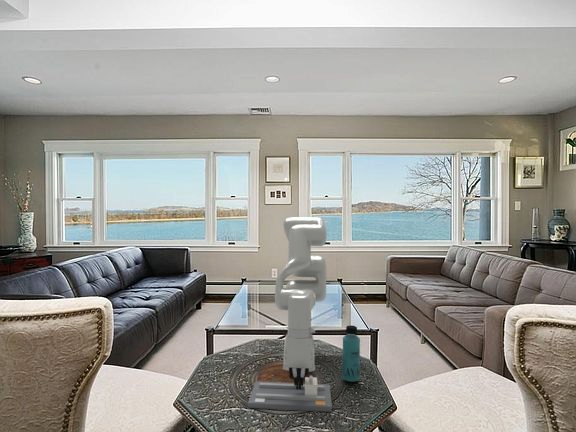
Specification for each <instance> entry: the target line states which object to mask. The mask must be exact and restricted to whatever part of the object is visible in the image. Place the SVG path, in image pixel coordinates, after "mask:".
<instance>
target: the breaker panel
mask: <svg viewBox="0 0 576 432" xmlns="http://www.w3.org/2000/svg"><path fill="white" fill-rule="evenodd" d="M330 385H331V384H326V383H323V384H322V383H317V396H308V395H305V382H303V386H301V390H299V388H298V390H296V386H294V382H281V381H280V382H279V381H278V382H277V381H275V382H274V381H255V382H254V384H253V388H252V390H251V393H250V396H249V399H248V401H247V408H248V409H269V410H270V409H271V410H287V411H288V410H289V411H291V410H292V411H306V412H307V411H312V412H331V413H332V412H333V403H332V402H333V401H332V396H331V395H332V394H331V386H330Z"/></svg>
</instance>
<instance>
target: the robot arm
mask: <svg viewBox="0 0 576 432" xmlns="http://www.w3.org/2000/svg"><path fill="white" fill-rule="evenodd" d="M283 230H284V234H285V236H286V238H287V241H288V259H287V260H288V261H287V263H285V265H283V267H282V268H281V269H280V270H279V272H278V274H277V276H276V280H275V291H274V304H275V307H276V308H277V310H280V311H287V333H286V335H285V338H284V345H283V359H282V360H283V364H282V369H283V370H285V371H287V372H289V371H290V372H291V373H292V374H293V376H294V377H293V378H294V379H293V383H294V386H296V390H298V388H299V390H301V386H303V383H304V378H305V377H306V375H307V374H308V373H309V372H315V371H316V366H315V358H316V357H315V341H314V335H313V334H316V328H312V327H311V326H312V312H311V311H312V310H313V309H314V306H316V303H321V302H324V301H325V300H326V297H327V263H326V259H325V258H324V256H322V255H316V254H314V255H312V247H323V246H325V244H326V243H327V236H328V235H327V227H326V223H325V220H324V218H322V217H319V216H317V217H316V216H315V217H314V216H291V217H287V218H285V219H284V220H283ZM289 276H293V277H295V278H296V277H297V278H314V279H292V280H289V281H288V282H287V283H286V287H285V288H284V282H285V280H286V279H287V278H288V277H289ZM297 368H301V372H300V374H298V372H297Z"/></svg>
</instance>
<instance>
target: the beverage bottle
mask: <svg viewBox="0 0 576 432" xmlns="http://www.w3.org/2000/svg"><path fill="white" fill-rule="evenodd" d="M345 333H347V334H346V335H344V336H343V337H342V357H341V360H342V362H341V363H342V365H341V376H342V379H343V380H344V381H348V382H357V381H359V379H360V375H361V374H360V373H361V365H360V363H361V362H360V359H361V358H360V357H361V355H360V354H361V344H360V343H361V339H360V337H359V336H358V335H356V334H358V327H357V326H356V325H346V327H345Z"/></svg>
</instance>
